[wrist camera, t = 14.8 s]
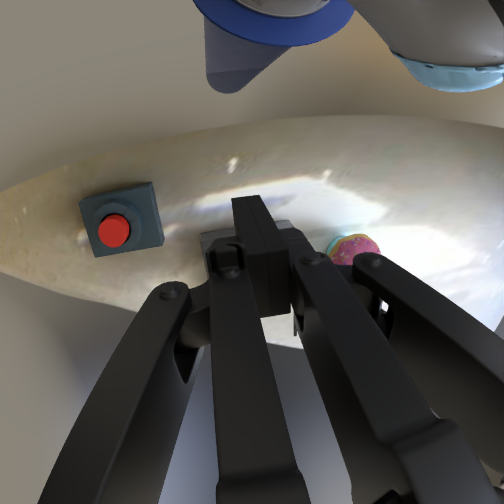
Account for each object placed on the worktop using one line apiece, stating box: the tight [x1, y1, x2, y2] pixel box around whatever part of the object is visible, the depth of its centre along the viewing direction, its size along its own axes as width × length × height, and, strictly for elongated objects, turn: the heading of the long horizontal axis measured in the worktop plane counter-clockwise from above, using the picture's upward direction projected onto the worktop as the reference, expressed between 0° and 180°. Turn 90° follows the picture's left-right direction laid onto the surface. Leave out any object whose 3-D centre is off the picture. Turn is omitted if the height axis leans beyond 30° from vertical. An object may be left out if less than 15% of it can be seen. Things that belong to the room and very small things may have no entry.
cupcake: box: [327, 234, 381, 265], centre depth 38 cm, size 9×8×12 cm
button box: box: [78, 182, 164, 258], centre depth 34 cm, size 10×8×4 cm
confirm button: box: [98, 214, 129, 247], centre depth 32 cm, size 4×4×2 cm
